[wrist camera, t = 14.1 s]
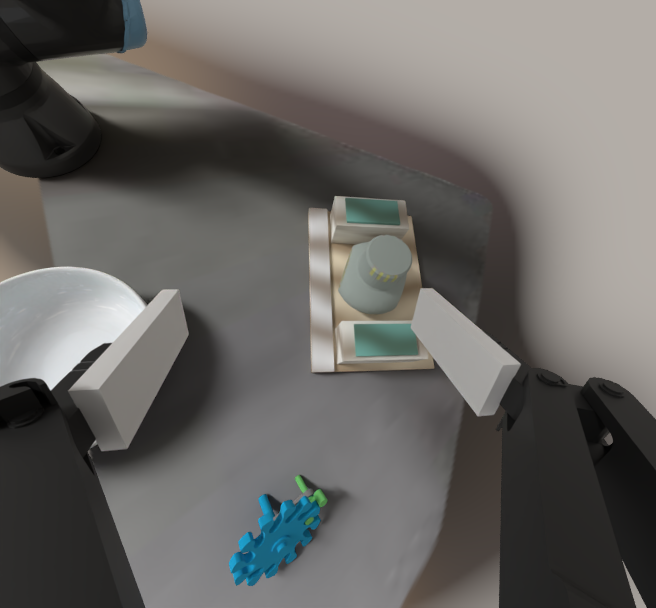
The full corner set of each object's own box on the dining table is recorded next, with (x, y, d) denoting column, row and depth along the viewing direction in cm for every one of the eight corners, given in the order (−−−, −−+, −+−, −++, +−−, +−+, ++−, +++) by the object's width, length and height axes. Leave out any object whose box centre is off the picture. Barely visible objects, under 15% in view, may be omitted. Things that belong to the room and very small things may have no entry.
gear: (253, 605, 27) (215, 574, 22) (237, 546, 32) (202, 509, 27) (338, 525, 32) (322, 484, 27) (313, 483, 36) (296, 441, 31)
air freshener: (383, 325, 39) (414, 307, 30) (331, 308, 39) (345, 283, 29) (398, 263, 43) (429, 229, 33) (350, 247, 42) (368, 207, 33)
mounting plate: (308, 213, 44) (311, 186, 38) (408, 219, 47) (426, 195, 41) (311, 372, 37) (315, 370, 31) (430, 368, 39) (456, 365, 33)
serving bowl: (178, 438, 32) (150, 451, 26) (-30, 473, 29) (-124, 499, 22) (180, 281, 38) (158, 259, 31) (7, 293, 34) (-59, 272, 28)
